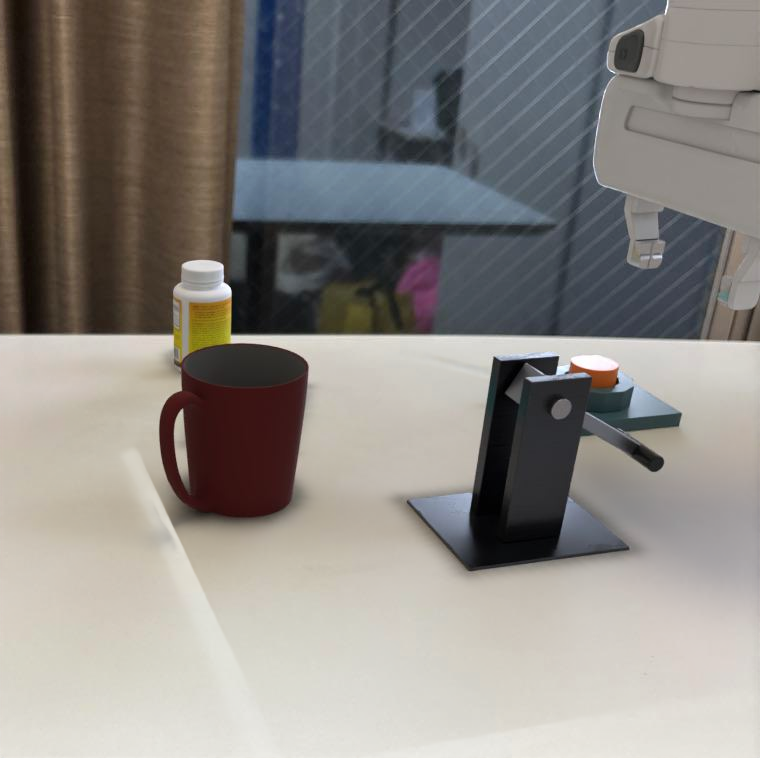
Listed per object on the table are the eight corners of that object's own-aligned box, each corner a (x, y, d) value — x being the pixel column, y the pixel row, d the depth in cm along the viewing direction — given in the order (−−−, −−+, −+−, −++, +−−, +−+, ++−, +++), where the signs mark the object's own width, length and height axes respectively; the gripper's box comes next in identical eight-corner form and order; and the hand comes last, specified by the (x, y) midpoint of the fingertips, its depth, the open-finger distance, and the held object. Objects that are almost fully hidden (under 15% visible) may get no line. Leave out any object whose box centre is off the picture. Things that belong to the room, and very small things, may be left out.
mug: (209, 563, 70) (210, 411, 65) (124, 517, 76) (119, 373, 70) (324, 506, 78) (335, 366, 72) (240, 468, 83) (243, 335, 78)
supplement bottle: (241, 368, 103) (244, 265, 98) (204, 383, 99) (205, 276, 94) (199, 355, 106) (200, 254, 101) (161, 369, 102) (160, 265, 97)
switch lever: (609, 452, 76) (630, 424, 75) (651, 482, 72) (673, 453, 71) (493, 385, 70) (514, 355, 70) (531, 413, 66) (553, 381, 66)
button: (598, 371, 93) (602, 353, 92) (624, 388, 90) (628, 368, 89) (558, 375, 92) (562, 356, 91) (583, 391, 89) (587, 372, 88)
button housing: (610, 394, 98) (618, 353, 96) (676, 436, 90) (687, 393, 88) (495, 405, 96) (502, 363, 94) (552, 449, 87) (561, 405, 85)
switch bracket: (549, 496, 80) (581, 335, 73) (626, 562, 71) (669, 386, 65) (405, 513, 77) (424, 347, 71) (467, 584, 69) (495, 402, 62)
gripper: (931, 66, 53) (849, 330, 60) (677, 36, 70) (636, 244, 77) (826, 70, 51) (755, 340, 58) (594, 38, 68) (560, 250, 75)
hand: (686, 285), depth 68 cm, fingers open, 8 cm apart
